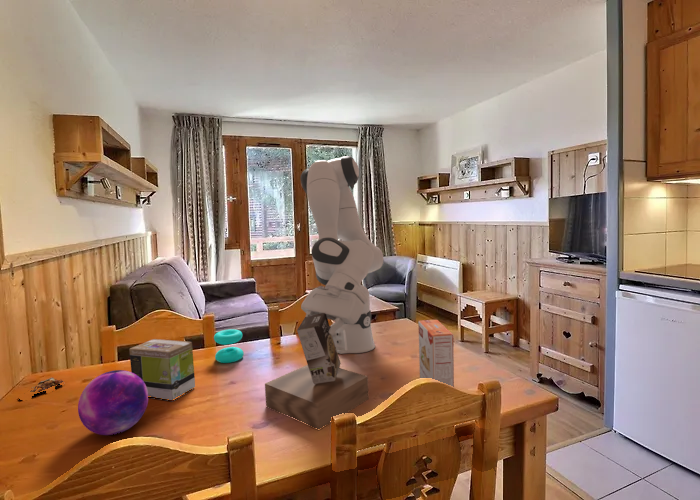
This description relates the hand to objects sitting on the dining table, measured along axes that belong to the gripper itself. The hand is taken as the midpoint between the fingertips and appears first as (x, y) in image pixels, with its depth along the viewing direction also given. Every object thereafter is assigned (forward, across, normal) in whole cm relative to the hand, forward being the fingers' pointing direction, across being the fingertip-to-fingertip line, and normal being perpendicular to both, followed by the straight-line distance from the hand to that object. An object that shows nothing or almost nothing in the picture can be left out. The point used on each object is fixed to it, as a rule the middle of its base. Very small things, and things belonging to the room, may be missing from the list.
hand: (317, 330), depth 111 cm
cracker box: (0, +24, +29) cm, 38 cm away
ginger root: (+51, -71, -21) cm, 90 cm away
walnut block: (+15, 0, +14) cm, 21 cm away
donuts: (+14, -50, +15) cm, 54 cm away
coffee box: (+8, +2, +10) cm, 13 cm away
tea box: (+33, -41, -4) cm, 53 cm away
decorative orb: (+45, -28, -16) cm, 55 cm away
